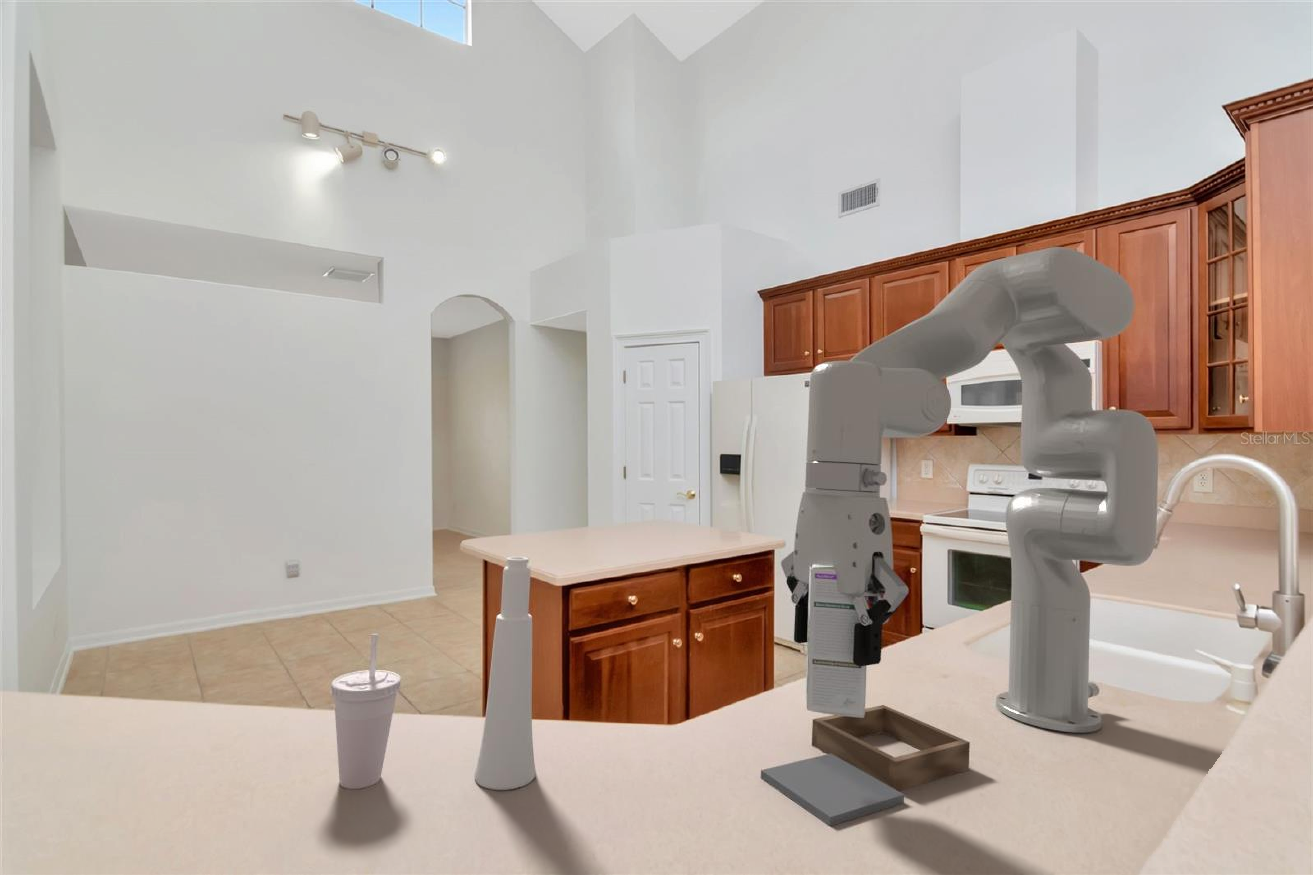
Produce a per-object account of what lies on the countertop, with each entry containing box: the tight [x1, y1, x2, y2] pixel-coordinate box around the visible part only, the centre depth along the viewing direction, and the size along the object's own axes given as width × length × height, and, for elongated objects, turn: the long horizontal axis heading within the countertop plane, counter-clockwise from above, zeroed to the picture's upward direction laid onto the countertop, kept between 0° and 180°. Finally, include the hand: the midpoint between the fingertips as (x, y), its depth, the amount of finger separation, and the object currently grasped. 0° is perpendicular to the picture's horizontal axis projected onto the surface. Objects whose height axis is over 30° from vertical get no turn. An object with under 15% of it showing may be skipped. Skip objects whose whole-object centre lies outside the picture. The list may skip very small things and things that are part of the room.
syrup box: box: [805, 564, 869, 718], centre depth 68 cm, size 6×6×14 cm
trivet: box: [760, 753, 905, 827], centre depth 67 cm, size 10×10×1 cm
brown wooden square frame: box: [811, 704, 971, 792], centre depth 76 cm, size 12×12×3 cm
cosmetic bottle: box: [474, 556, 537, 791], centre depth 67 cm, size 6×6×22 cm
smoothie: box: [329, 633, 402, 790], centre depth 65 cm, size 6×6×14 cm
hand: (835, 651), depth 68 cm, fingers closed on syrup box, 7 cm apart
